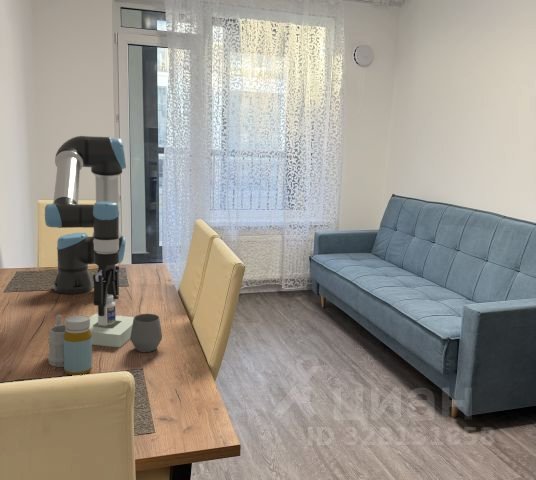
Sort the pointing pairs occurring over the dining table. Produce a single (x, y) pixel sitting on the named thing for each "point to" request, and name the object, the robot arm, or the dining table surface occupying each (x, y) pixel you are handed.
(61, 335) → the mug
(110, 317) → the pill bottle
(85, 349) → the bottle
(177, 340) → the dining table surface
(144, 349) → the cup
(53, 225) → the robot arm
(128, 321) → the socket block
